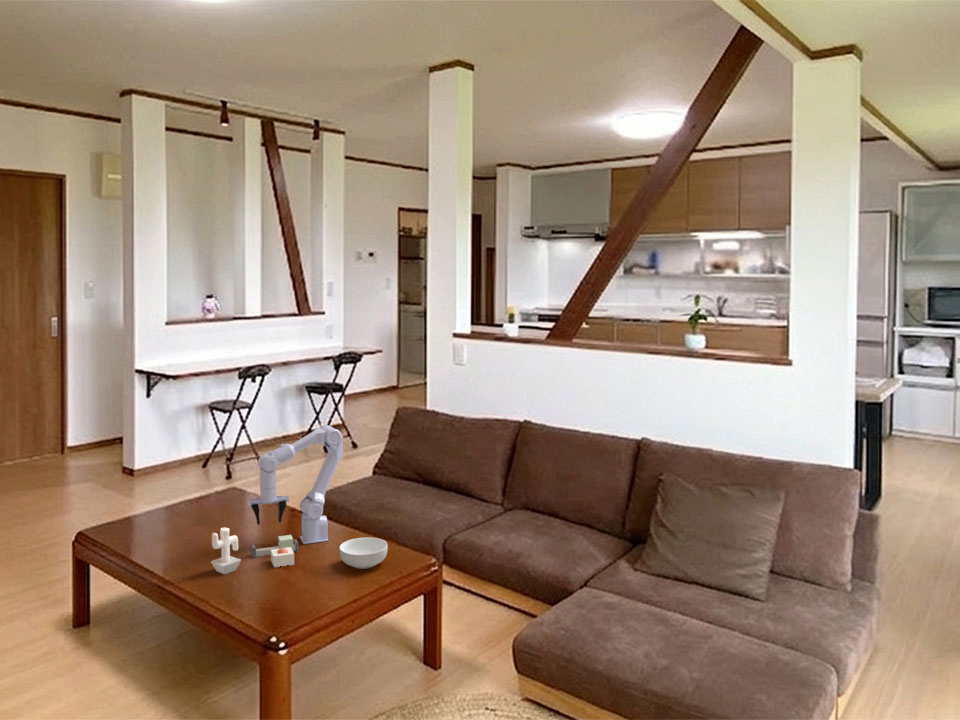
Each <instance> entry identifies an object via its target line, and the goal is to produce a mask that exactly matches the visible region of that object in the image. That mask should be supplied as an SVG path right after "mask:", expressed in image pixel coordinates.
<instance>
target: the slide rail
mask: <svg viewBox="0 0 960 720" xmlns="http://www.w3.org/2000/svg"><path fill="white" fill-rule="evenodd" d="M273 549H280V547H279V546H271V547H262V548H261V547H260V548H257V547H256V545H255V544H251V556H252V558H253V559H254V558H255V559H256V558H257V557H266V556H271V550H273ZM293 552H294V553H299V541H298V539H297V538H295V539H294V538H293ZM265 555H266V556H265Z"/></svg>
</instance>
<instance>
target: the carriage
mask: <svg viewBox="0 0 960 720" xmlns="http://www.w3.org/2000/svg"><path fill="white" fill-rule="evenodd" d="M277 539H278V546H279V547H280V548H288V547H291V548H292V550H293V544H294V538H293V535H292V534H287V535H278V536H277Z"/></svg>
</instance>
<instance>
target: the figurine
mask: <svg viewBox="0 0 960 720" xmlns="http://www.w3.org/2000/svg"><path fill="white" fill-rule="evenodd" d="M219 531H220V534H219V535H218V533H216V532H212V533H211V546H212V548H213V549H214V550H218V549H220V551H221V553H220V555H221V557H219V558H216V559H213V560H211V561H210V563H211V564H212V566H213V568H214V570H215V571H216V572H217V573H220V574H222V575H227V574H230V573H233V572H235V571H237V569H238V567H239V565H240V564H241V561H242V559H240V558H237V557H234V556H231V550H230V549H231V548H230V547H231V546H232V550H233V551H238V550H239V538H238V536H237V535H236V534H235V535H230V528H229V527H226V526H224V527H221V528H220V529H219ZM219 536H220V539H219Z"/></svg>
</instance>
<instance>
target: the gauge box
mask: <svg viewBox="0 0 960 720" xmlns="http://www.w3.org/2000/svg"><path fill="white" fill-rule="evenodd" d="M280 549H282V548H280ZM285 549H286V552H287V553H282V554H278V550H279V549H273V550H271V555H270V562H271V564H272V566H274V567H273V568H280V566H282V567H287V565H289V566H295V552H293V550H292V548H291V547H288V548H285Z"/></svg>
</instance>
